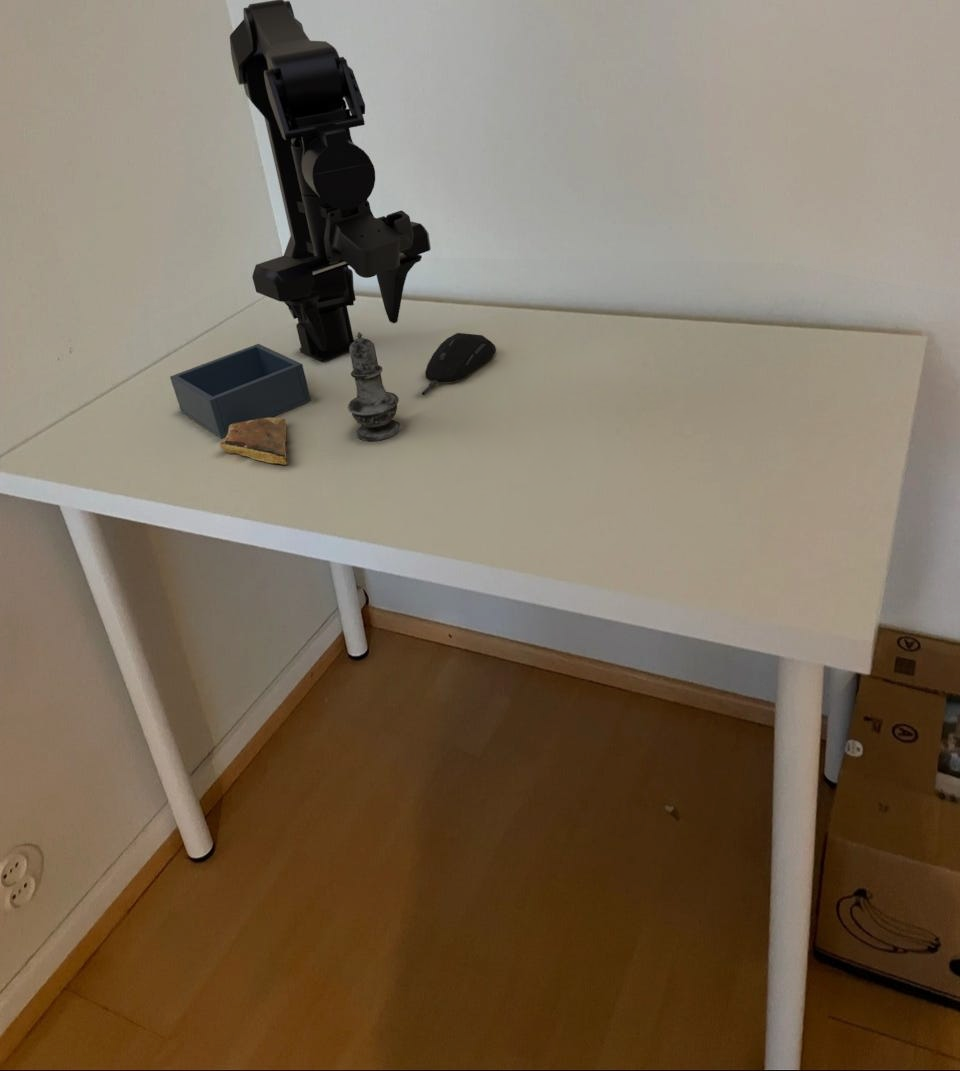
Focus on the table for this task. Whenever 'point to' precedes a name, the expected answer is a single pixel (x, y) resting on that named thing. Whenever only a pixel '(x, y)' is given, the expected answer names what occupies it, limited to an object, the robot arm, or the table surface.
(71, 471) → the table surface
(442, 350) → the gaming mouse
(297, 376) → the bin
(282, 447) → the shard
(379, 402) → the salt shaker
